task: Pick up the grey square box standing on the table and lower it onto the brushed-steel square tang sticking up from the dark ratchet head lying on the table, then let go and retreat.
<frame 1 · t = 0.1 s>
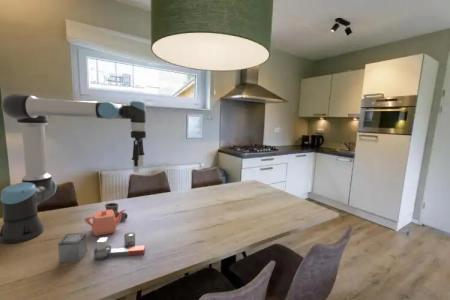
hand: (138, 169, 123), 28 cm above the table, fingers open, 13 cm apart
teapot: (106, 230, 111), on the table
pipe: (116, 219, 124), on the table
ratchet: (102, 255, 90), on the table
grey square box: (73, 256, 89), on the table
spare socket: (129, 245, 99), on the table
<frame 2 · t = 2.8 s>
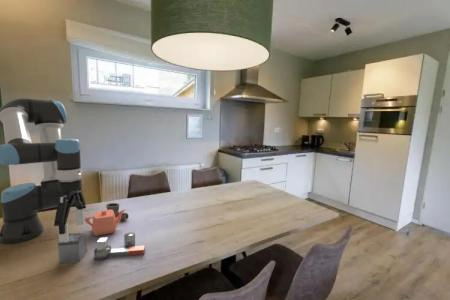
hand: (72, 232, 88), 11 cm above the table, fingers open, 13 cm apart
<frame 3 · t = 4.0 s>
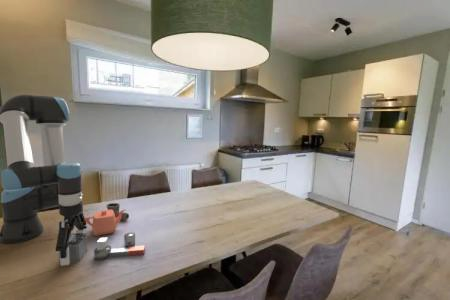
hand: (73, 253, 89), 1 cm above the table, fingers open, 13 cm apart
nothing on the table moved.
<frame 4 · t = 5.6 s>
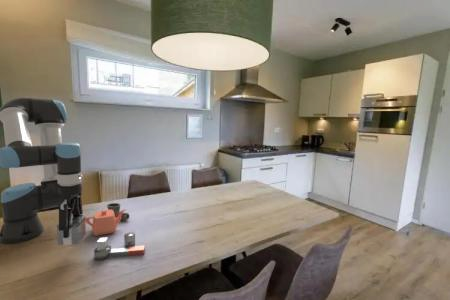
hand: (72, 238, 89), 7 cm above the table, fingers closed on grey square box, 7 cm apart
grey square box: (72, 239, 89), point 7 cm above the table, touching gripper
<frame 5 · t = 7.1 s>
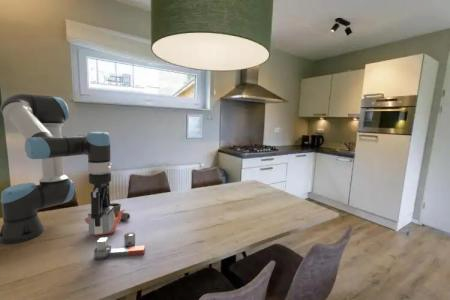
hand: (102, 228, 89), 12 cm above the table, fingers closed on grey square box, 7 cm apart
grey square box: (102, 229, 89), point 12 cm above the table, touching gripper
when the fingers open (4 cm above the table, at t = 8.7 s): grey square box stays where it is, resting on ratchet.
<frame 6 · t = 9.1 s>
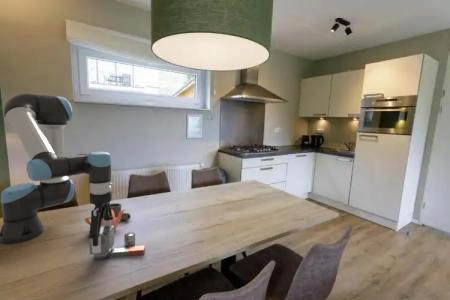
hand: (102, 243, 90), 5 cm above the table, fingers open, 12 cm apart
grey square box: (102, 248, 90), point 3 cm above the table, touching ratchet
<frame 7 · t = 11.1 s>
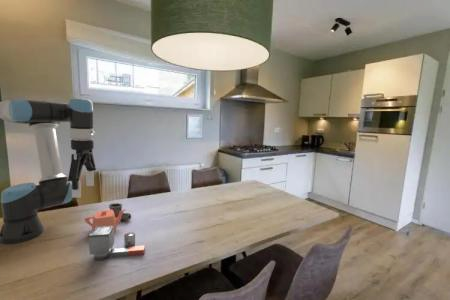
hand: (83, 191, 91), 26 cm above the table, fingers open, 13 cm apart
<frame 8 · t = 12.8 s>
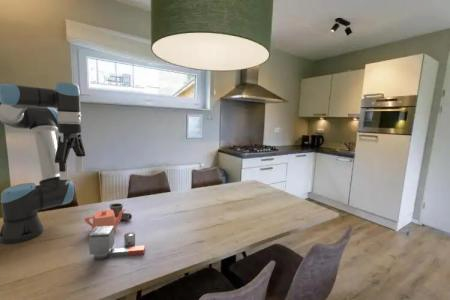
hand: (72, 175, 91), 32 cm above the table, fingers open, 13 cm apart
at the end: grey square box 0.1 cm off-centre on the ratchet, point 3.0 cm above the ratchet's base; grey square box tilted 0°; the gripper is holding nothing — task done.
